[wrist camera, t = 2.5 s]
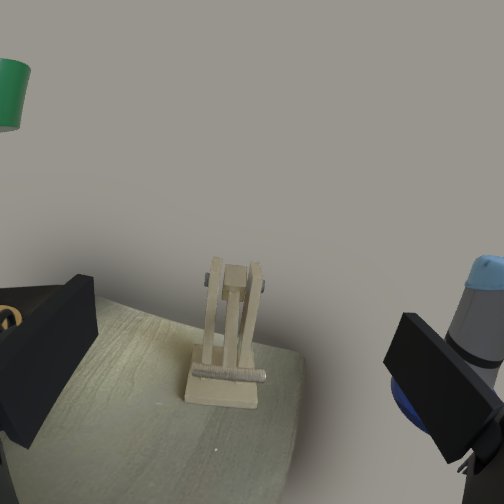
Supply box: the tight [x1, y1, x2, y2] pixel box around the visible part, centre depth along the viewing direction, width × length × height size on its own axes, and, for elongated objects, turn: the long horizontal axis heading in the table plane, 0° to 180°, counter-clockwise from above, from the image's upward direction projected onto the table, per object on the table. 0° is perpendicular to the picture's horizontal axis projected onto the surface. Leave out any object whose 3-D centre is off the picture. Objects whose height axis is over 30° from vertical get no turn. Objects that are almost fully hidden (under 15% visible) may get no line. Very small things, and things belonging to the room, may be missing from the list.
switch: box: [191, 264, 266, 383], centre depth 26 cm, size 12×6×2 cm, turn 3°
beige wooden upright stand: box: [185, 257, 265, 409], centre depth 31 cm, size 10×8×15 cm
